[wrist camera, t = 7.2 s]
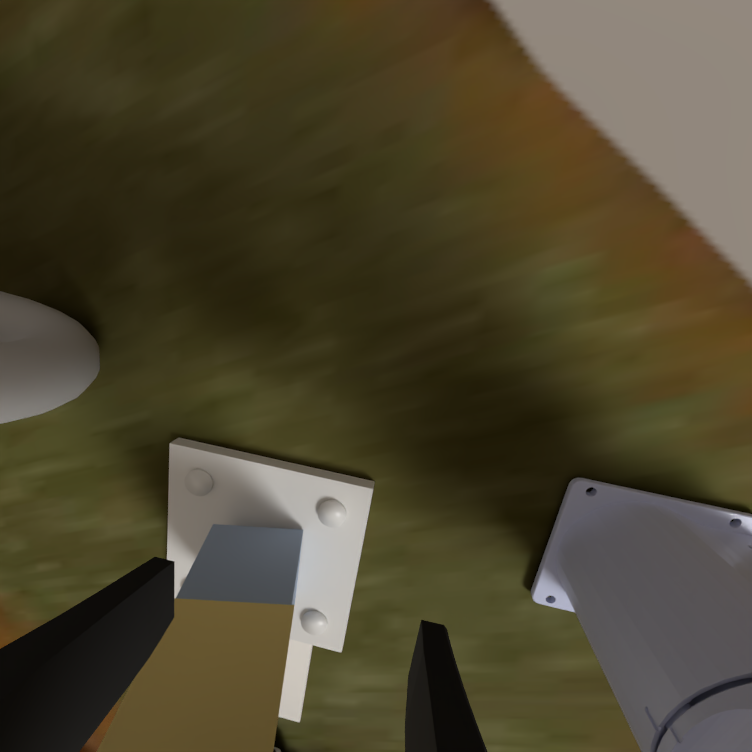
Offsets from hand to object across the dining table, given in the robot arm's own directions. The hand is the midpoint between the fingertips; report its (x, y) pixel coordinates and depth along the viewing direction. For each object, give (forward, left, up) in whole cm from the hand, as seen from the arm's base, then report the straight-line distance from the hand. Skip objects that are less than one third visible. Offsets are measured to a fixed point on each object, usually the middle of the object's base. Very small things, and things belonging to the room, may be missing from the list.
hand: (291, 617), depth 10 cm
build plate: (+5, +7, -10) cm, 14 cm away
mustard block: (+3, +7, -4) cm, 9 cm away
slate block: (+5, +8, -9) cm, 13 cm away
